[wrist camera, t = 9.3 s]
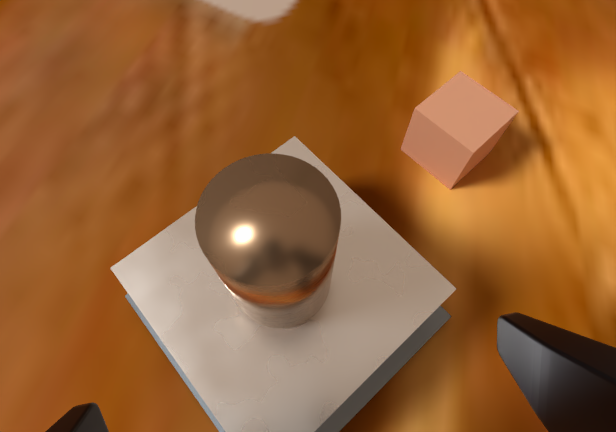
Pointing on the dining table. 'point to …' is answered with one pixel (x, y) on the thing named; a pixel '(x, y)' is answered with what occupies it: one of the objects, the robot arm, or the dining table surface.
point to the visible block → (456, 128)
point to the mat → (362, 393)
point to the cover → (280, 291)
